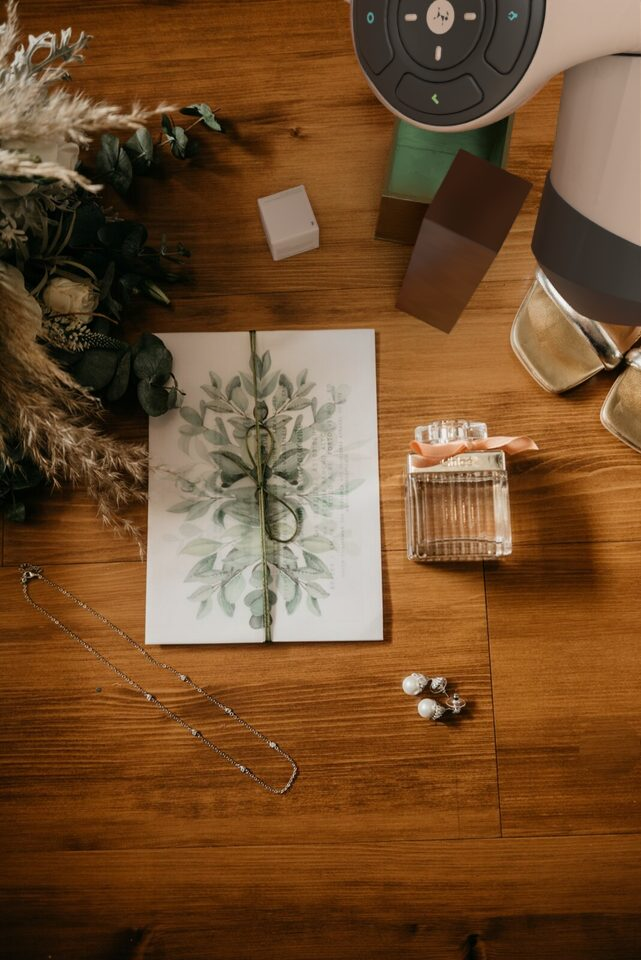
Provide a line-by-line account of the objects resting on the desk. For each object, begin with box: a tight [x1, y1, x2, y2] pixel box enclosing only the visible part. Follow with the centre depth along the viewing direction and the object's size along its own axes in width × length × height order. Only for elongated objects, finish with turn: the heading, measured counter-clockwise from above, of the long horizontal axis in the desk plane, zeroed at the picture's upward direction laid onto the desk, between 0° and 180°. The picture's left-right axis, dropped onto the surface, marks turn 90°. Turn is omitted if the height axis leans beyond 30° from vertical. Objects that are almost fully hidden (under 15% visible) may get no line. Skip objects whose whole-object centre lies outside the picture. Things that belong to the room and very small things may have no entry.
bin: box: [373, 111, 516, 247], centre depth 79 cm, size 12×12×11 cm
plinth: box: [395, 148, 534, 335], centre depth 72 cm, size 7×7×23 cm
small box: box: [257, 184, 320, 262], centre depth 82 cm, size 6×6×5 cm
